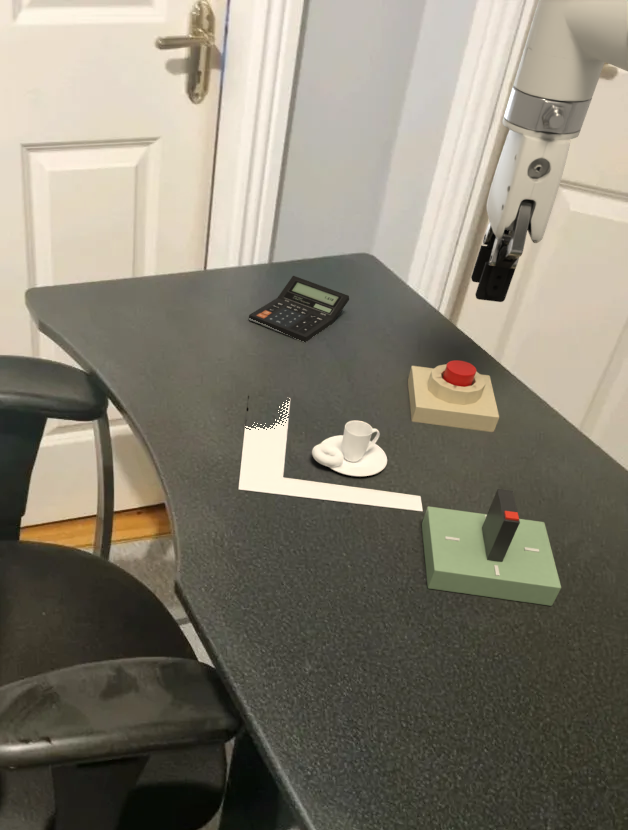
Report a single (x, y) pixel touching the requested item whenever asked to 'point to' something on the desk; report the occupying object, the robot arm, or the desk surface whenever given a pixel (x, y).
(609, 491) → the desk surface
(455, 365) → the button
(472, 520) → the panel
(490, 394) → the button base
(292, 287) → the calculator
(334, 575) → the desk surface
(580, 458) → the desk surface
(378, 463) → the teacup and saucer
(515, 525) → the knob
